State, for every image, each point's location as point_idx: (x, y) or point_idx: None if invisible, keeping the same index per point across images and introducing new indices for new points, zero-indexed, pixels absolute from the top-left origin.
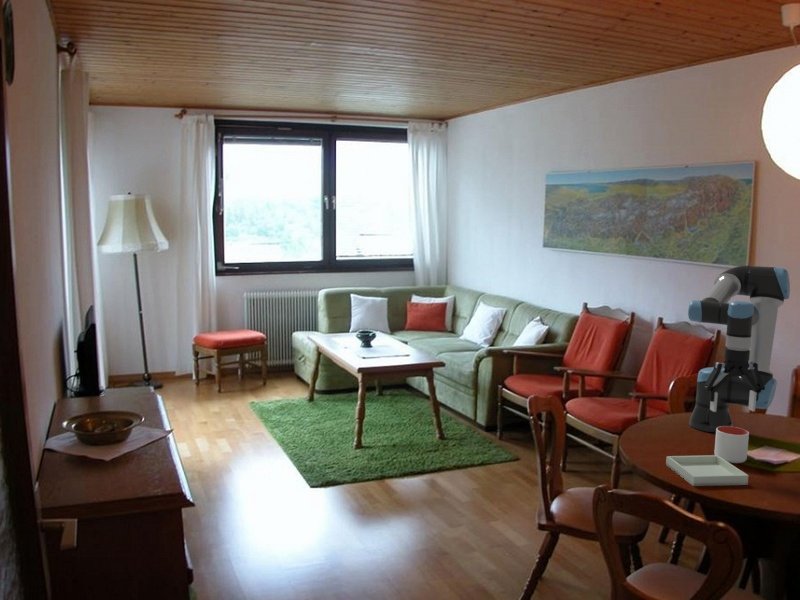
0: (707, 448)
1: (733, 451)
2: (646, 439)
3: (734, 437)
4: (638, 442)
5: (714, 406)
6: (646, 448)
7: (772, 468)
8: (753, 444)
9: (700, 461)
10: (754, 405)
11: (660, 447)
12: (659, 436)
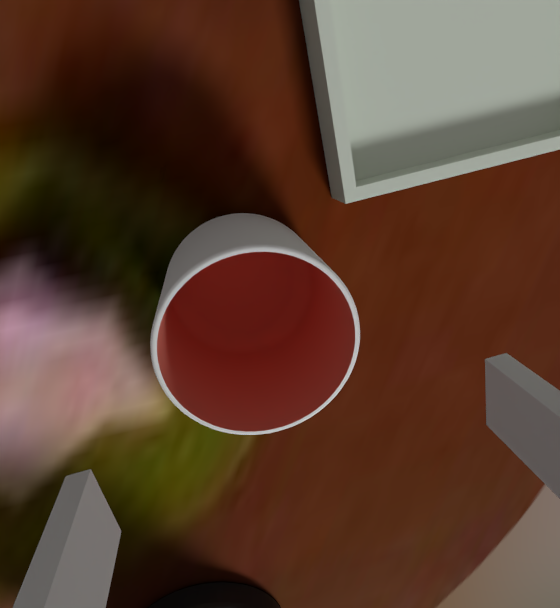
0: None
1: (261, 222)
2: None
3: (276, 242)
4: None
5: (546, 383)
6: (555, 339)
7: (51, 180)
8: None
9: (427, 164)
10: (57, 529)
11: None
12: (445, 485)
